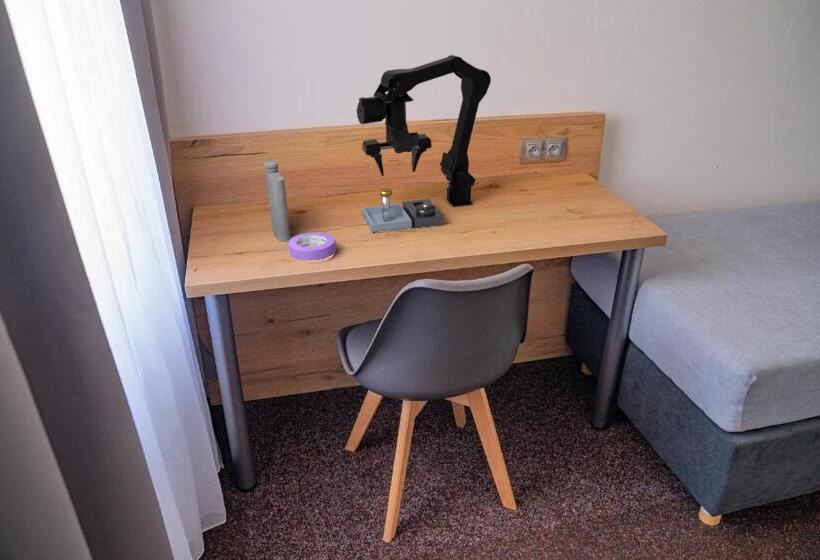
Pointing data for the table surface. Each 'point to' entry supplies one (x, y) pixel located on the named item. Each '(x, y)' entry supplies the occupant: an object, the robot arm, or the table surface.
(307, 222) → the table surface
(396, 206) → the tray
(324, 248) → the masking tape
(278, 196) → the hip flask
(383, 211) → the lock pin
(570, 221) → the table surface
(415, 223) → the grey holder base
